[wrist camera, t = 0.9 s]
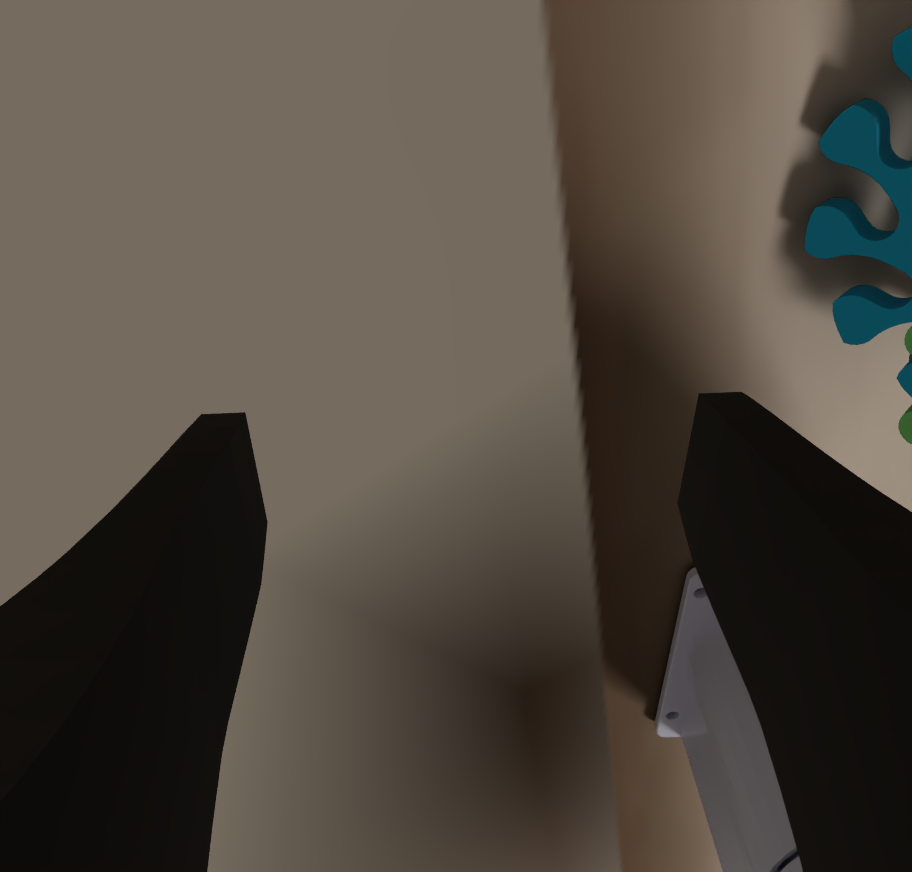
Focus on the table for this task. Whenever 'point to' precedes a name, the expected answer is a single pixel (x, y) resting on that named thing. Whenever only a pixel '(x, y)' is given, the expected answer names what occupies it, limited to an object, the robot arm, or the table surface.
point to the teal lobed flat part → (849, 232)
